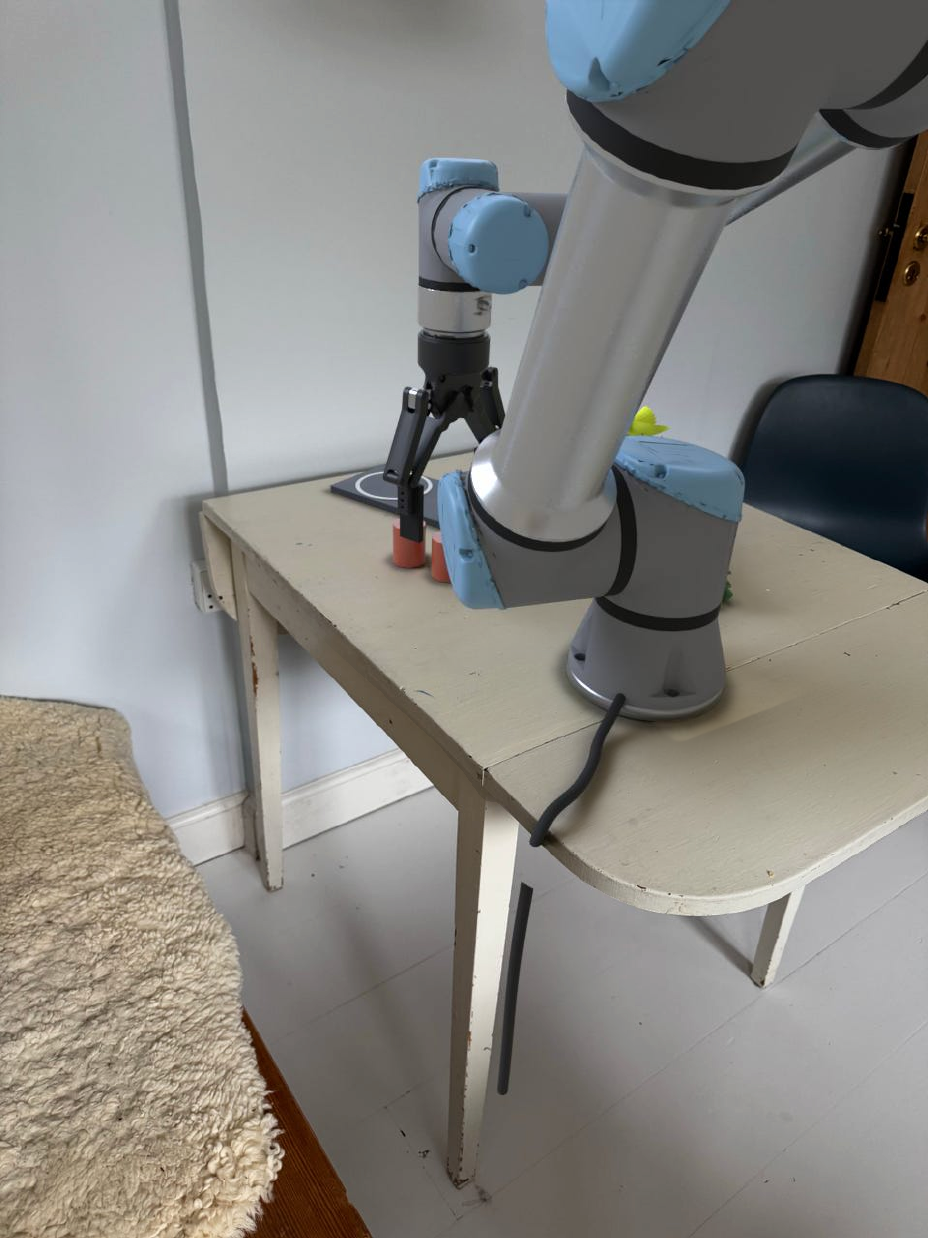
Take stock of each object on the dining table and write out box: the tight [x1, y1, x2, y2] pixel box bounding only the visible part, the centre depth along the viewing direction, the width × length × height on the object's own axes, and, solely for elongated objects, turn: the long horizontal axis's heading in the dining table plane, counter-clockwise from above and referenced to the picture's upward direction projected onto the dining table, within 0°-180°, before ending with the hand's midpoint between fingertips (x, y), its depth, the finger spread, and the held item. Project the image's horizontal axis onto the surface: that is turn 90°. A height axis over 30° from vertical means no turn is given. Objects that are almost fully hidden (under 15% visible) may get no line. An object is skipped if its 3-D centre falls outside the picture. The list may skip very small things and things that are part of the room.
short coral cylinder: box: [430, 530, 451, 584], centre depth 99 cm, size 4×4×5 cm
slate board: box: [330, 463, 440, 529], centre depth 120 cm, size 12×24×1 cm, turn 54°
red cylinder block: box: [392, 517, 427, 569], centre depth 102 cm, size 4×4×5 cm
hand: (448, 519), depth 97 cm, fingers open, 13 cm apart
